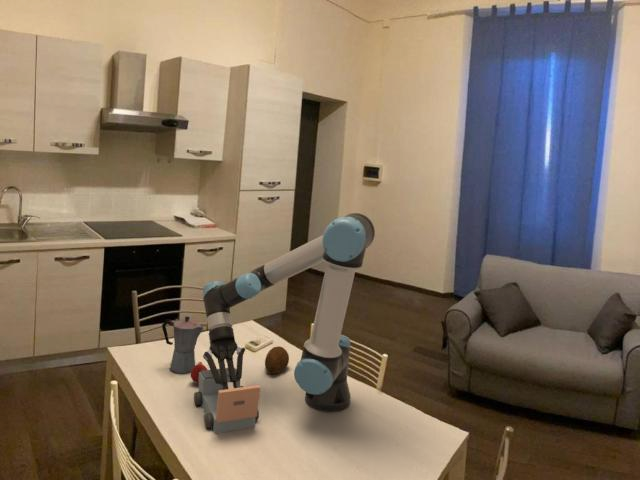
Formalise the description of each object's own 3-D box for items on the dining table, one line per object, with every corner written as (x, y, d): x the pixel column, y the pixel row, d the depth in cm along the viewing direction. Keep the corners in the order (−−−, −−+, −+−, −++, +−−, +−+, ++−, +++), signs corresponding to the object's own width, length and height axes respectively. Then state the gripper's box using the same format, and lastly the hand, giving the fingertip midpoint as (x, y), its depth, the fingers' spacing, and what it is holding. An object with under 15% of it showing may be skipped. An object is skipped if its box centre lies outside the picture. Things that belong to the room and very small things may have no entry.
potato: (255, 372, 196) (256, 349, 194) (275, 362, 206) (276, 340, 204) (273, 379, 191) (275, 356, 190) (293, 368, 201) (294, 346, 200)
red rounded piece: (203, 388, 180) (204, 366, 178) (187, 386, 181) (188, 364, 180) (210, 381, 186) (211, 360, 184) (194, 378, 187) (195, 357, 185)
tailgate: (215, 420, 153) (218, 390, 150) (255, 414, 158) (259, 384, 155) (217, 424, 152) (219, 394, 149) (257, 417, 157) (260, 388, 154)
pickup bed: (192, 398, 173) (193, 371, 171) (239, 392, 179) (240, 365, 178) (208, 434, 153) (210, 403, 152) (260, 425, 160) (262, 395, 158)
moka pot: (199, 376, 189) (201, 322, 185) (156, 372, 189) (157, 319, 185) (205, 365, 198) (207, 313, 194) (164, 361, 198) (165, 310, 195)
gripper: (238, 332, 172) (251, 405, 161) (197, 336, 166) (207, 412, 155) (244, 323, 166) (257, 398, 155) (201, 326, 161) (212, 405, 150)
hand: (232, 405), depth 155 cm, fingers closed
